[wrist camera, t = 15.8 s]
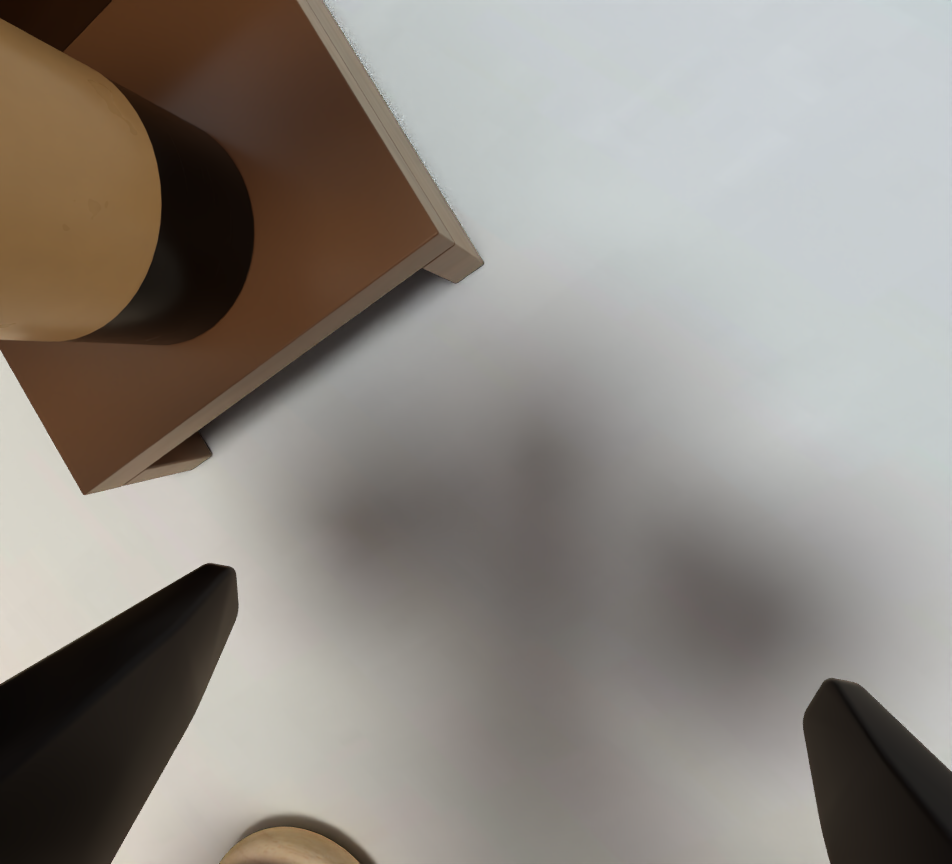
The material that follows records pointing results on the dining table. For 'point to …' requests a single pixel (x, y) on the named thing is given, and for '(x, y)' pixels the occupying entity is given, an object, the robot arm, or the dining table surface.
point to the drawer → (273, 207)
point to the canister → (109, 209)
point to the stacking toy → (287, 848)
